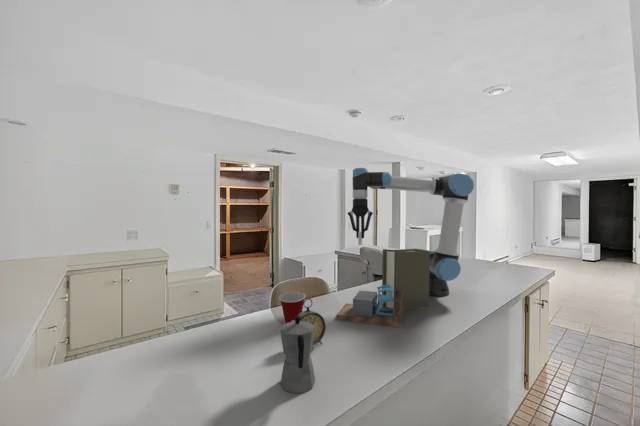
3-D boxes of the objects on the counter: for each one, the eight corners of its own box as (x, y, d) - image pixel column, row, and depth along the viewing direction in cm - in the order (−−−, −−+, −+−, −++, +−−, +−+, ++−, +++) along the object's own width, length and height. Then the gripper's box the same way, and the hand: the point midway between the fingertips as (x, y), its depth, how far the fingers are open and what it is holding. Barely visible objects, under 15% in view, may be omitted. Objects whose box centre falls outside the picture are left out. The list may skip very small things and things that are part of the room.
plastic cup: (273, 328, 116) (273, 297, 116) (287, 318, 126) (286, 290, 126) (298, 332, 112) (298, 300, 112) (310, 322, 122) (310, 293, 122)
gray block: (377, 307, 134) (377, 291, 134) (372, 318, 121) (372, 300, 121) (359, 305, 137) (359, 290, 137) (352, 315, 124) (352, 299, 124)
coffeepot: (279, 372, 85) (278, 309, 85) (311, 368, 87) (311, 307, 86) (282, 407, 70) (281, 330, 70) (321, 402, 71) (320, 327, 71)
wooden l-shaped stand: (403, 313, 132) (402, 291, 131) (400, 327, 116) (399, 301, 116) (346, 307, 140) (345, 286, 140) (336, 319, 125) (336, 295, 125)
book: (415, 302, 150) (416, 247, 150) (430, 308, 142) (430, 249, 142) (381, 308, 140) (382, 249, 140) (395, 314, 132) (396, 251, 132)
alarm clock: (296, 353, 96) (296, 303, 96) (290, 346, 101) (290, 298, 101) (326, 345, 101) (326, 298, 101) (319, 339, 106) (318, 294, 106)
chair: (374, 310, 131) (374, 282, 130) (394, 310, 129) (393, 283, 129) (375, 316, 123) (375, 287, 123) (396, 317, 122) (396, 288, 122)
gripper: (374, 198, 153) (374, 244, 154) (349, 199, 158) (349, 243, 158) (371, 198, 146) (371, 245, 146) (345, 198, 151) (346, 245, 151)
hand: (360, 244), depth 152 cm, fingers closed
